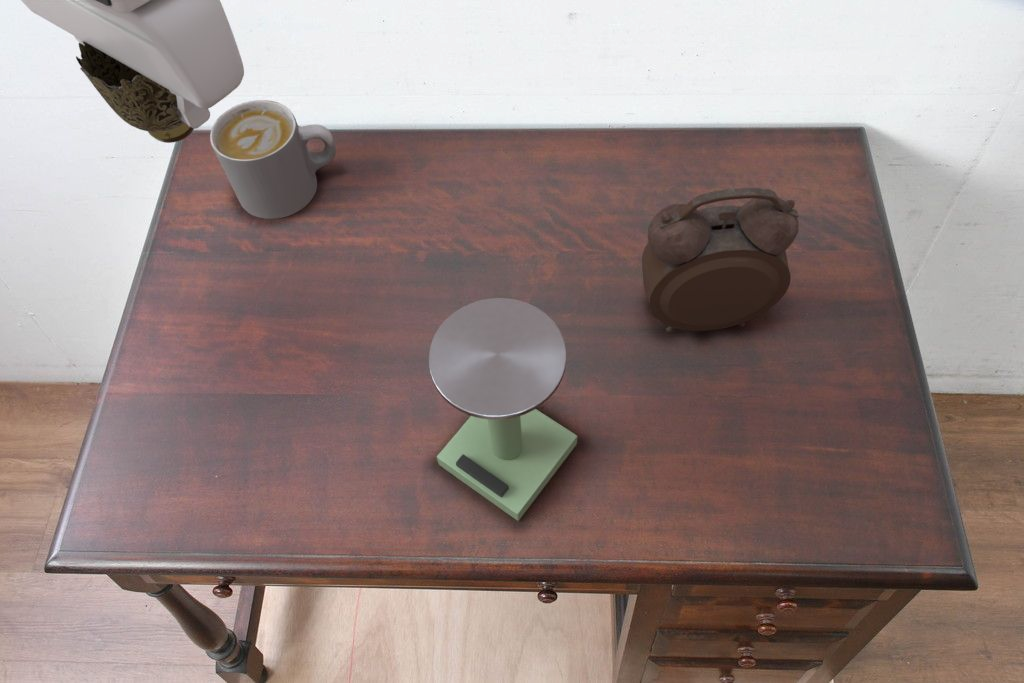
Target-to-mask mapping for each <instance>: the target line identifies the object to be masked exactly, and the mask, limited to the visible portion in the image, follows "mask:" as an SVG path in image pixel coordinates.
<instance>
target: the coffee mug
mask: <svg viewBox="0 0 1024 683" xmlns="http://www.w3.org/2000/svg"><path fill="white" fill-rule="evenodd" d="M312 139H319V140H321V141H322V142H323V143H324V149H323V150H321V151H314V150H311V149H310V148H309V146H308V145H307V144H308V142H309V141H310V140H312ZM209 140H210V144H211V147H212V149H213V152H214V154H215V156H216V157H217V159H218V161H219V164H220V166H221V167H222V170H223V172H224V173H225V176H226V178H227V180H228V182H229V184H230V186H231V188H232V190H233V192H234V194H235V196H236V199H237V200H238V203H239V204H240V206H241V207H242V209H243V210H244V211H245V212H247V213H248V214H249V215H251V216H253V217H256V218H260V219H263V220H275V219H276V220H277V219H282V218H286V217H289V216H292V215H295V214H296V213H298V212H299V211H302V210H303V209H304V208H305V207H307V205H309V204H310V203H311V201H312V200H313V198H314V197H315V195H316V192H317V189H318V179H317V176H316V172H317V171H318V170H319V169H321V168H323V167H325V166H327V165H328V164H330V163H331V162H332V161H333V160H334V159H335V158H336V155H337V148H336V147H337V146H336V141H335V138H334V136H333V134H332V132H331V131H330V129H329V128H327V127H326V126H324V125H321V124H308V125H303V126H301V125H298V122H297V118H296V117H295V115H294V113H293V112H292V111H291V109H289V107H287V106H286V105H284V104H282V103H280V102H278V101H274V100H268V99H254V100H248V101H244V102H241V103H238V104H236V105H234V106H232V107H230V108H229V109H227V110H226V111H224V112H222V114H220V115H219V116H218V117H217V119H216V120H215V121H214V123H213V125H212V127H211V129H210V134H209Z"/></svg>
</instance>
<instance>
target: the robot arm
mask: <svg viewBox="0 0 1024 683" xmlns="http://www.w3.org/2000/svg"><path fill="white" fill-rule="evenodd" d="M20 1H21V2H22V3H23V4H24V5H25V6H26V7H27V8H28V10H30V11H31V12H32V13H33V14H36V15H37V16H38V17H40V18H43V19H44V20H46V21H47V22H49V23H51V24H53V25H55V26H56V27H58V28H60V29H62V30H63V31H65V32H67V33H69V34H70V35H72V36H74V39H76V41H77V42H78V44H79V43H81V44H83V45H84V43H83V41H84V42H86V43H88V44H90V45H91V46H93V47H95V48H97V49H98V50H100V51H102V52H104V53H105V54H107V55H109V56H111V57H112V58H114V59H116V60H118V61H119V62H121V63H123V64H125V65H126V66H128V67H130V68H132V69H133V70H135V71H137V72H139V73H140V74H142V75H144V76H146V77H147V78H149V79H151V80H153V81H154V82H156V83H158V84H160V85H161V86H163V87H165V88H167V89H168V90H169V91H170V92H171V93H173V94H174V95H176V98H177V100H176V101H175V102H173V103H172V104H171V106H172V108H173V110H174V112H175V113H176V114H177V117H178V119H179V120H180V121H182V122H184V123H185V124H187V125H188V126H190V127H192V128H193V129H194V130H195V129H196V130H197V129H199V128H200V127H201V126H203V125H204V124H205V123H206V122H208V121H209V119H210V118H211V111H210V109H211V108H212V107H214V106H215V105H217V104H219V103H220V102H221V101H222V100H224V99H225V98H227V97H228V96H229V95H231V93H233V92H234V91H235V90H236V89H237V88H238V87H239V86H240V85H241V83H242V82H243V79H244V76H245V67H244V63H243V60H242V56H241V52H240V50H239V47H238V44H237V41H236V38H235V36H234V33H233V31H232V28H231V25H230V21H229V19H228V16H227V14H226V12H225V9H224V6H223V4H222V2H221V0H20ZM84 46H85V45H84Z"/></svg>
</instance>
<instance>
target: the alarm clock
mask: <svg viewBox="0 0 1024 683" xmlns="http://www.w3.org/2000/svg"><path fill="white" fill-rule="evenodd" d="M740 199H741V200H744V199H750V200H748V201H747V202H746V203H744V204H743V205H742V206H739V205H738V206H737V205H720V206H711V207H706V208H701V207H702V206H705V205H709V204H712V203H713V204H714V203H717V202H722V201H723V202H724V201H731V200H740ZM795 205H796V202H795V201H794V200H793V199H787V200H786V201H785V199H783V198H781V197H779V196H778V195H777V193H776V192H775V191H774V190H772V189H768V188H761V187H740V188H738V187H737V188H727V189H720V190H714V191H709V192H706V193H702V194H699V195H697V196H695V197H693V198H691V200H690V201H689V202H687V203H686V204H685V203H674V204H670V205H667V206H665V207H663V208H662V209H660V210H659V211H658V212H657V213H655V215H654V216H653V217H652V219H651V221H650V222H649V225H648V228H647V243H646V245H645V246H644V249H643V251H642V255H641V270H642V271H641V272H642V284H643V289H644V293H645V297H646V299H647V301H648V305H649V309H650V312H651V313H652V316H654V317H655V319H657V321H659V322H660V323H662V324H664V325H666V326H667V327H666V328H665V331H666V332H667V333H672V332H673V329H676V330H682V331H690V332H691V331H692V332H702V331H703V332H705V331H706V332H708V331H715V330H721V329H726V328H730V327H735V326H737V325H739V326H740V327H742V328H743V327H744V326H746V322H748V321H750V320H753V319H755V318H757V317H759V316H761V315H762V314H764V313H766V312H767V311H769V310H770V309H772V308H773V307H774V306H775V305H777V304H778V303H779V301H781V300H782V298H783V297H784V296H785V294H787V291H788V289H789V287H790V284H791V278H792V277H791V272H790V268H789V263H788V262H789V261H788V256H787V252H786V251H787V250H788V249H789V248H790V247H791V245H792V244H793V243H794V241H795V239H796V238H797V236H798V233H799V230H800V228H799V226H800V225H799V219H798V218H800V215H799V213H798V210H797V209H794V208H795ZM698 208H701V209H698Z"/></svg>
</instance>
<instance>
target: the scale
mask: <svg viewBox="0 0 1024 683" xmlns="http://www.w3.org/2000/svg"><path fill="white" fill-rule="evenodd" d="M577 445H578V435H576V433H574V432H572V431H571V430H569V429H568V428H566V427H564V426H563V425H561V424H560V423H559V422H557V421H555V420H553V419H552V418H551V417H549V416H547V414H544V413H543V412H542V411H540V410H538V408H536V409H535V410H533V411H531V412H529V413H527V414H524V415H521V416H519V417H515V418H510V419H503V420H487V419H481V418H477V417H473V416H469V417H468V419H467V420H466V421H465V422H464V423H463V425H461V427H460V428H459V430H458V431H457V432H456V433H455V434H454V435H453V436H452V438H450V440H449V441H448V442H447V443H446V445H445V446H444V447H443V448H442V450H441V451H440V452H439V453H438V454H437V455H436V461H437V463H438V465H439V466H440V468H443V469H444V470H445V471H447V472H448V473H449V474H451V475H452V476H454V478H455V477H456V478H457V479H458V480H459V481H460V482H462V483H463V484H465V485H466V486H468V487H469V488H471V489H472V490H474V491H475V492H477V493H478V494H479V495H481V497H484V498H485V499H486V500H488V501H489V502H490V503H492V504H493V505H495V506H496V507H497V508H498V509H500V510H502V511H503V512H504V513H506V514H507V515H508V516H510V517H511V518H513V519H514V520H516V521H517V522H519V521H520V520H521V519H522V517H523V516H524V515H525V513H526V512H527V511H528V509H529V508H530V507H531V505H532V504H533V502H534V501H535V500H536V499H537V498H538V496H539V495H540V494H541V492H542V491H543V490H544V488H545V487H546V486H547V484H548V483H549V482H550V480H551V479H552V477H553V476H554V475H555V474H556V472H557V471H558V470H559V469H560V467H561V466H562V464H563V463H564V462H565V461H566V459H567V458H568V457H569V456H570V454H571V452H572V451H573V450H574V448H575V447H576V446H577Z"/></svg>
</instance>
